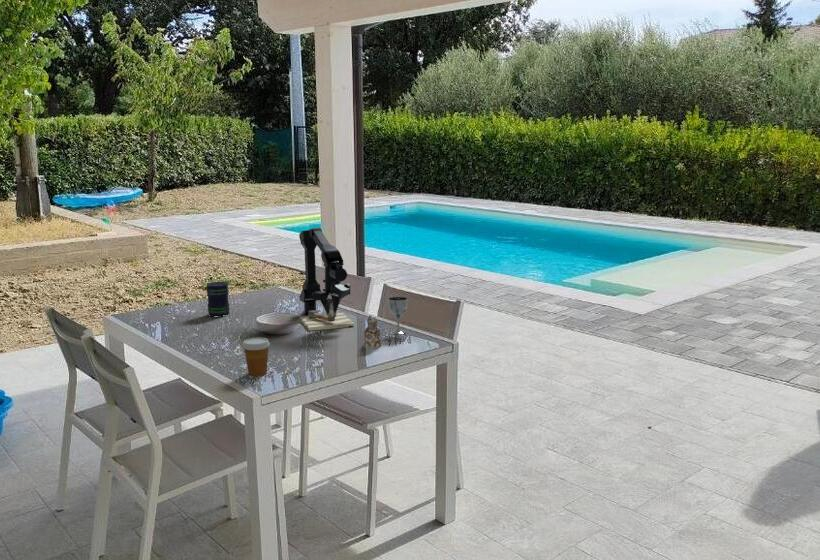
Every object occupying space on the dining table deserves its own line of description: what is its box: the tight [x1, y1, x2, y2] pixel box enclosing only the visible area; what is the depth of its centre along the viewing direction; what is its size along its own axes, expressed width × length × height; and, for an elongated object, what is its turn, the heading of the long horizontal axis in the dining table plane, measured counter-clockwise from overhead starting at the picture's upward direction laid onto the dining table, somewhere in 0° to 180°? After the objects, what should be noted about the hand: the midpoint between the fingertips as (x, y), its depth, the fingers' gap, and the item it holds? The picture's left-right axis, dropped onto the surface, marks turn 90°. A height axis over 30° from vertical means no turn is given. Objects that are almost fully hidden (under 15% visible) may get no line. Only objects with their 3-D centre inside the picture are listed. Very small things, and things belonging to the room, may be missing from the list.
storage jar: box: [206, 281, 230, 316], centre depth 354 cm, size 10×10×15 cm
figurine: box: [362, 315, 382, 349], centre depth 301 cm, size 7×7×12 cm
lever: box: [308, 300, 335, 322], centre depth 336 cm, size 16×4×10 cm, turn 44°
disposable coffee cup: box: [242, 337, 271, 377], centre depth 268 cm, size 10×10×12 cm
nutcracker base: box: [299, 309, 355, 331], centre depth 338 cm, size 20×20×6 cm
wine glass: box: [388, 295, 408, 335], centre depth 320 cm, size 8×8×15 cm
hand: (331, 312), depth 333 cm, fingers open, 4 cm apart
